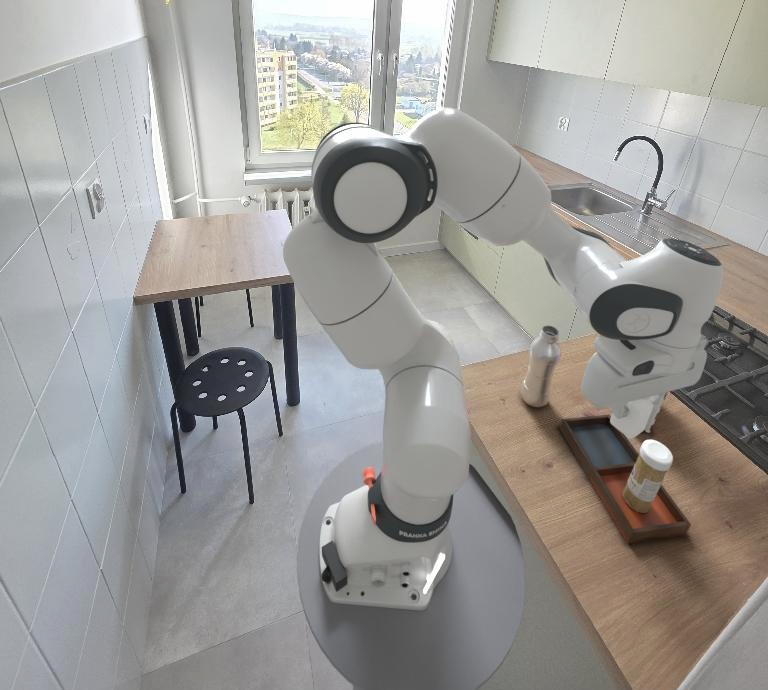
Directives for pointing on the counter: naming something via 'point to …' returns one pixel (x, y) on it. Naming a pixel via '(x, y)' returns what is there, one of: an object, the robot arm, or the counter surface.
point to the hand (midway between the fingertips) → (631, 410)
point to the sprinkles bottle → (647, 475)
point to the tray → (620, 479)
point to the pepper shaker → (634, 417)
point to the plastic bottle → (541, 367)
